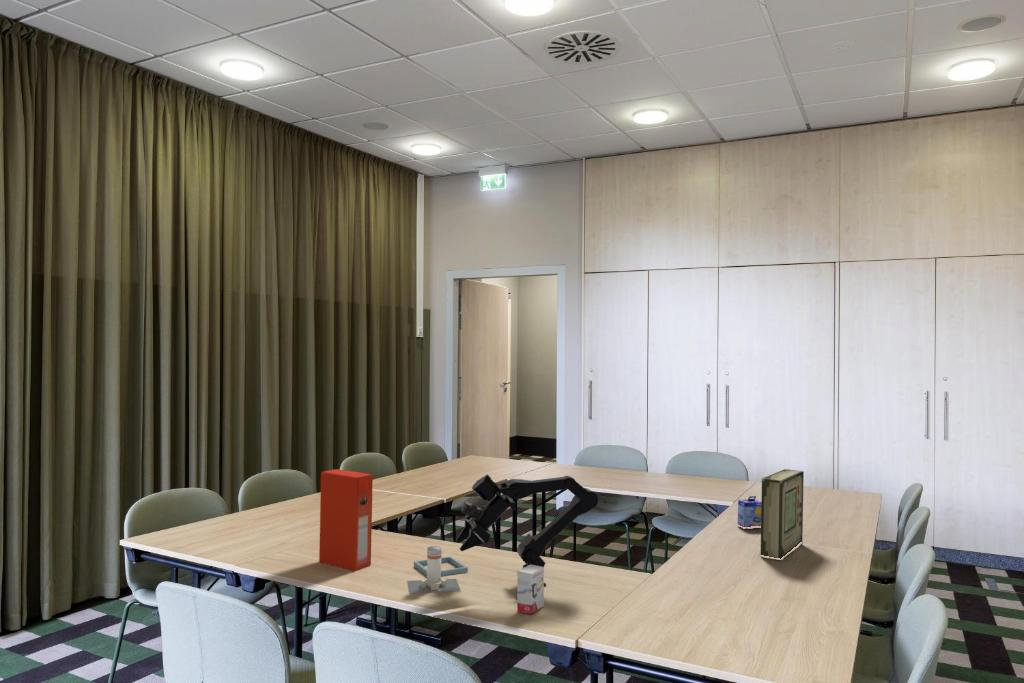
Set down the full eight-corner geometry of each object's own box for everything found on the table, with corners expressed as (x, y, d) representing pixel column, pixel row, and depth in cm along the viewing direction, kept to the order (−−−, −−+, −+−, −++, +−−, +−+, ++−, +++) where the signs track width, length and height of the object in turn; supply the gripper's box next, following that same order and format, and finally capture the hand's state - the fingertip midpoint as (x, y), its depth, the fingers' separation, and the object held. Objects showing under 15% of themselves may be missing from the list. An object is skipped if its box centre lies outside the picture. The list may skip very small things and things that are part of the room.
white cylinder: (437, 582, 223) (438, 545, 223) (443, 587, 219) (444, 549, 219) (424, 584, 221) (425, 547, 221) (429, 589, 217) (430, 550, 217)
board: (456, 581, 227) (456, 573, 228) (460, 594, 216) (461, 585, 216) (407, 583, 224) (407, 575, 224) (409, 596, 212) (409, 587, 213)
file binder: (354, 571, 235) (356, 477, 236) (318, 562, 244) (321, 471, 245) (370, 565, 242) (373, 474, 243) (335, 557, 251) (337, 468, 252)
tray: (450, 563, 247) (450, 556, 247) (467, 574, 235) (467, 567, 235) (413, 568, 240) (413, 561, 240) (429, 580, 228) (429, 573, 228)
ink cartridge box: (744, 530, 305) (744, 497, 305) (736, 527, 310) (737, 494, 310) (763, 528, 307) (763, 496, 308) (755, 525, 313) (755, 493, 313)
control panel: (780, 561, 259) (782, 481, 260) (760, 557, 264) (761, 478, 264) (802, 544, 283) (803, 471, 283) (783, 541, 288) (784, 469, 288)
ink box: (530, 615, 200) (531, 574, 200) (515, 611, 203) (516, 571, 203) (544, 606, 208) (545, 566, 208) (529, 602, 210) (530, 563, 210)
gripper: (472, 487, 232) (438, 521, 230) (480, 499, 214) (444, 536, 212) (494, 510, 234) (461, 544, 231) (505, 524, 215) (469, 561, 213)
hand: (458, 546), depth 222 cm, fingers open, 9 cm apart
